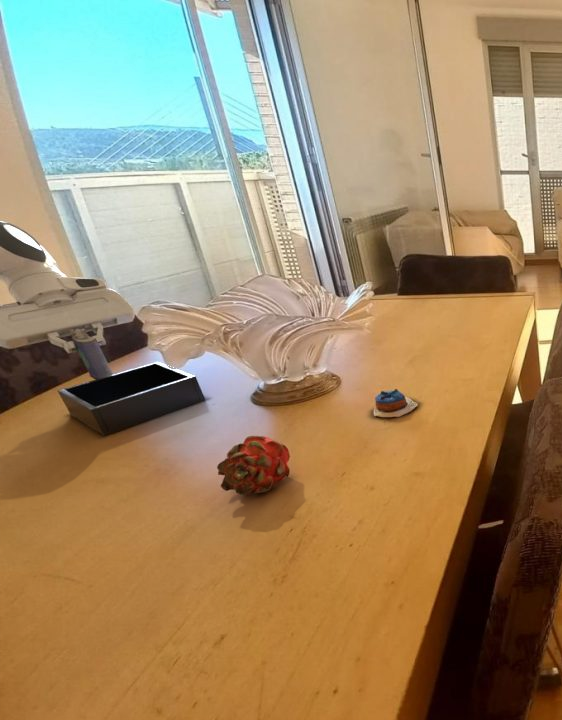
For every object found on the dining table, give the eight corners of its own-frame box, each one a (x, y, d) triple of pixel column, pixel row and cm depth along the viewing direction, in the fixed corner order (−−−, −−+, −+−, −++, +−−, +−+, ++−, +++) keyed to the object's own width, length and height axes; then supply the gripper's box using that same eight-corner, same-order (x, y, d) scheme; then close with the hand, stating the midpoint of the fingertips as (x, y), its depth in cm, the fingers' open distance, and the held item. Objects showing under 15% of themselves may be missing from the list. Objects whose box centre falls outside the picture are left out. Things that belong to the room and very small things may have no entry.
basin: (104, 436, 86) (90, 409, 84) (70, 415, 94) (57, 390, 92) (205, 399, 99) (195, 376, 97) (168, 383, 107) (158, 361, 105)
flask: (116, 377, 101) (92, 330, 96) (97, 382, 99) (72, 334, 94) (104, 368, 105) (81, 323, 101) (86, 373, 103) (61, 327, 99)
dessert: (361, 413, 90) (370, 383, 91) (384, 417, 96) (393, 388, 97) (396, 421, 88) (405, 390, 89) (418, 424, 94) (426, 395, 95)
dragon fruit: (263, 518, 67) (262, 487, 76) (308, 467, 70) (301, 444, 79) (200, 490, 62) (206, 461, 72) (251, 437, 65) (250, 416, 74)
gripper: (-33, 300, 90) (10, 356, 89) (112, 277, 106) (149, 324, 105) (-26, 320, 93) (16, 373, 93) (113, 294, 110) (149, 340, 109)
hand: (87, 347), depth 99 cm, fingers closed on flask, 3 cm apart
